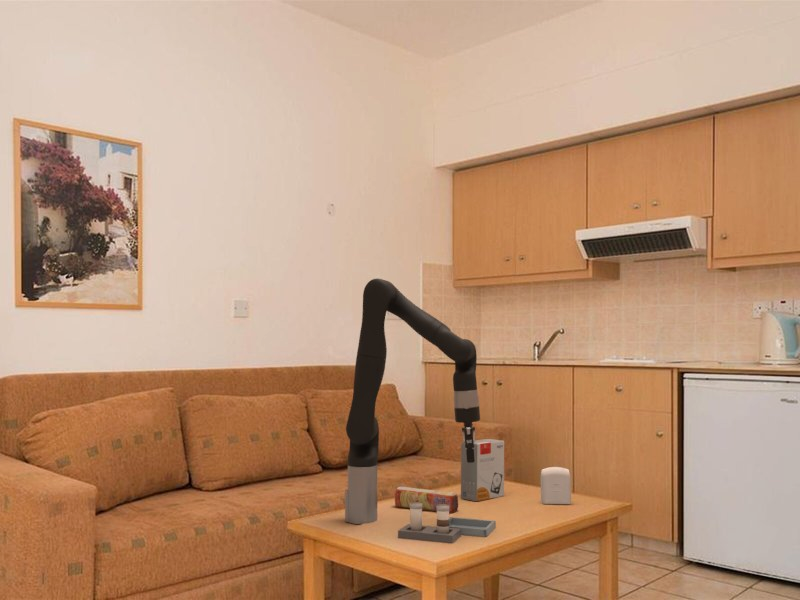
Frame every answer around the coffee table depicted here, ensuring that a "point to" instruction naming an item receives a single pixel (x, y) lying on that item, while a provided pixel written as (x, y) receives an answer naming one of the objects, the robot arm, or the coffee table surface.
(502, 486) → the hard drive box
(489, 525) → the parts tray
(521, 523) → the coffee table surface
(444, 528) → the cylinder
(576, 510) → the coffee table surface
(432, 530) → the fuse block
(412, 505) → the fuse
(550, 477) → the photo printer
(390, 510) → the coffee table surface
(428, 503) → the snack package
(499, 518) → the coffee table surface
